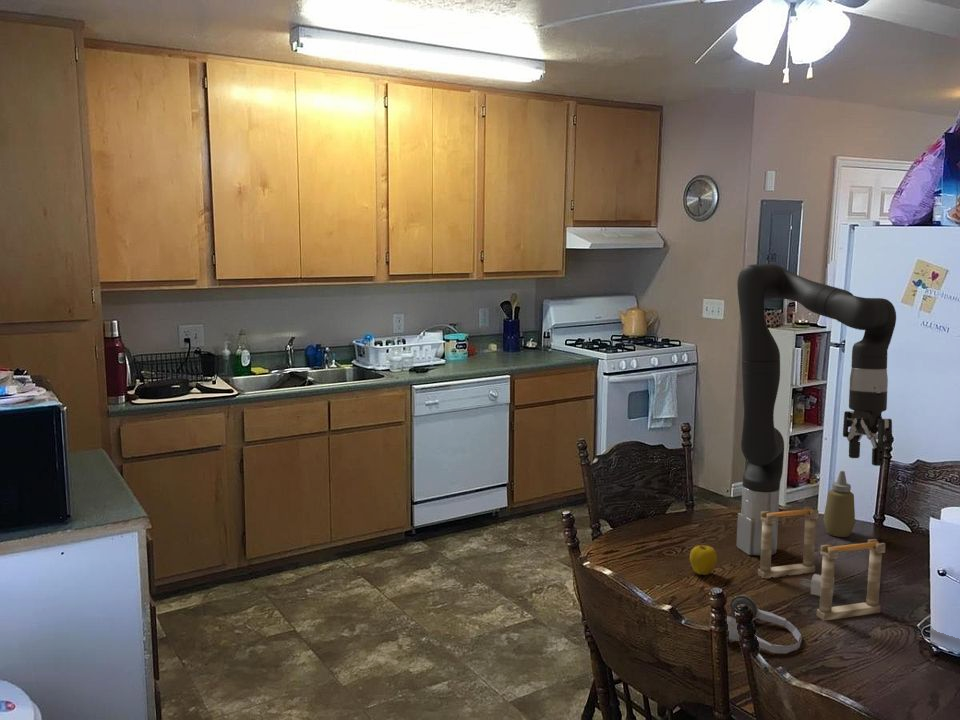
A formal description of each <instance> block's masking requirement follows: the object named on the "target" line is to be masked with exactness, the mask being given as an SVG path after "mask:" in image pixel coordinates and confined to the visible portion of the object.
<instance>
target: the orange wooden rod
mask: <svg viewBox="0 0 960 720" xmlns="http://www.w3.org/2000/svg"><path fill="white" fill-rule="evenodd" d="M810 510H814V509H813V508H812V509H804V508H803V509H795V510H786V511H785V510H784V511H778V512H775V513H767V514H766V516H767V515H772V514H774V515H775V518H776V517H778V518H783V517H793V516H794V517H795V516H804V514H810Z"/></svg>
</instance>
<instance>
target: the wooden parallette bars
mask: <svg viewBox="0 0 960 720" xmlns="http://www.w3.org/2000/svg"><path fill="white" fill-rule="evenodd" d="M803 509H813V506H804V507H803ZM767 513H769V511H763V512H761V516H760V520H762V539H761V556H760V563H759V564H760V565H759V568H757V575H758V576H759V577H760V576H761V577H760V578H761V579H763V578H765V579H772V578H771V577H773V578H780V576H781V577H787V576H786V575H789V576H795V575H803V573H804V574H809V573H811V574H812V573H815V572H816V566H815V564H814V560H815V559H814V557H815V539H816V524H817V522H816V521H817V519H819V509H813V510H810V514H804V515H803V516H804V517H805V518H804V533H803V534H804V536H803V550H802V552H803V553H802V554H803V555H802V563H796V564H795V563H793V564H787V565H780V566H779V565H778V566H771V565H772V555H771V550H772V530H773V523H775V515H774V514H772V515H767V516H766V514H767ZM868 542H878V539H876V538H871V539H867V543H868ZM828 547H831V545H830V544H821V545H820V552H819V554H820V555H821V556H822V561H821V574H820V575H821V591H820V596H819V608H816V617H818V618H820V619H821V620H822V621H830V620H838V619H839V620H840V619H845V618H851V617H858V616H859V617H860V616H866V615H872V614H880V613H881V611H882V610H881V607H882V606H881V605H880V604H879V599H880V586H881V585H880V584H881V572H882V558H883V557H882V556H883V554H884V553H886V543H885V542H878V544H876V547H874V548H866V549H868V550H869V559H868V570H867V571H868V572H867V587H866V599H865V601H863V602H860V603H859V602H857V603H851V604H844V605H836V606H833V596H832V594H833V595H834V593H833V578H834V579H835V577H834V575H835V560H836V559H838V558H839V557H838V556H839V552H838V549H828V551H827V548H828Z"/></svg>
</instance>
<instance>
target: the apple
mask: <svg viewBox="0 0 960 720" xmlns="http://www.w3.org/2000/svg"><path fill="white" fill-rule="evenodd" d="M717 554H718V553H717V550H715V549H714V548H713V547H712V546H710V545H704V544H703V545H702V544H698V545H696V546H694V547H693V548H692V549H691V551H690V552H689V562H690V564H691V567H692V570H693V572H695V573H696V574H697V575H703V576H707V575H709V574H710V573H712V571H713V570H714V569H716V565H717V560H718V555H717Z"/></svg>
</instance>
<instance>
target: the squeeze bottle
mask: <svg viewBox="0 0 960 720" xmlns="http://www.w3.org/2000/svg"><path fill="white" fill-rule="evenodd" d="M831 486H832V487H831V489H830V490H828V491H827V495H826V500H825V501H826V503H825V507H824V508H825V509H824V513H823V519H822V520H823V524H824V527H825V531H826V533H827V534H829V535H830V536H834V537H836V538H837V537H838V538H846V537H849V536H850V535H851V533H852V531H853V530H854V526H855V524H856V515H855V514H856V511H855V495H854V493H853V492H851V489H852V488H851V486H852V485H851V484H850V483H847V476H846V472H845V471H844V470H840V471H839V473H838V477H837V480H836V481H833V482H832V484H831Z"/></svg>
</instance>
